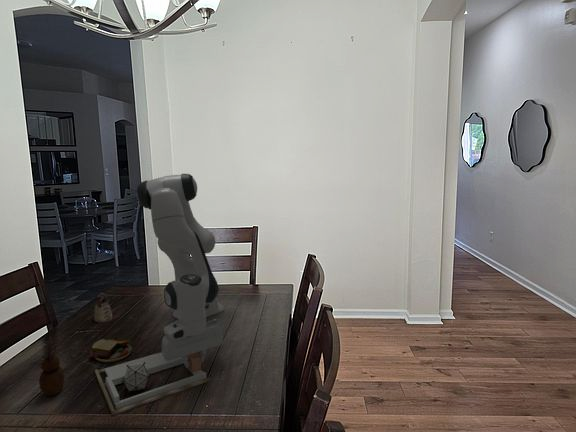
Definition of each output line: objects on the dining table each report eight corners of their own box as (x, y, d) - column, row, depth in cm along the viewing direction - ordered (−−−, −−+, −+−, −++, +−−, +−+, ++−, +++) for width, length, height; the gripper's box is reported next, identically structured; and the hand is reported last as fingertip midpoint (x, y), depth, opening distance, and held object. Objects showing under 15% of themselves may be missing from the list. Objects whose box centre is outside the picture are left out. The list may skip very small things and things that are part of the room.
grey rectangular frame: (190, 359, 136) (190, 346, 135) (207, 378, 124) (207, 363, 123) (105, 386, 120) (104, 371, 119) (116, 410, 108) (115, 394, 107)
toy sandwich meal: (119, 365, 133) (118, 352, 132) (84, 362, 135) (83, 349, 134) (139, 348, 145) (138, 336, 144) (106, 345, 147) (105, 333, 146)
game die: (140, 404, 117) (138, 391, 111) (116, 391, 119) (112, 378, 112) (158, 377, 124) (156, 363, 117) (135, 365, 125) (132, 351, 118)
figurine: (115, 316, 173) (113, 290, 171) (106, 323, 166) (104, 296, 164) (100, 315, 174) (98, 290, 172) (91, 322, 167) (88, 295, 165)
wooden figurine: (49, 386, 120) (44, 340, 118) (68, 385, 121) (64, 340, 119) (37, 399, 114) (31, 351, 111) (57, 398, 114) (53, 350, 112)
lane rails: (180, 348, 144) (180, 345, 144) (209, 380, 123) (209, 377, 123) (95, 373, 127) (94, 369, 127) (112, 415, 107) (112, 411, 106)
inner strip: (176, 350, 142) (175, 335, 141) (183, 359, 136) (182, 343, 135) (105, 371, 128) (103, 354, 127) (110, 382, 122) (108, 364, 121)
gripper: (217, 314, 135) (218, 351, 137) (158, 329, 123) (160, 369, 125) (225, 320, 130) (226, 358, 132) (165, 336, 118) (167, 378, 120)
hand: (194, 364), depth 129 cm, fingers closed on grey rectangular frame, 3 cm apart
